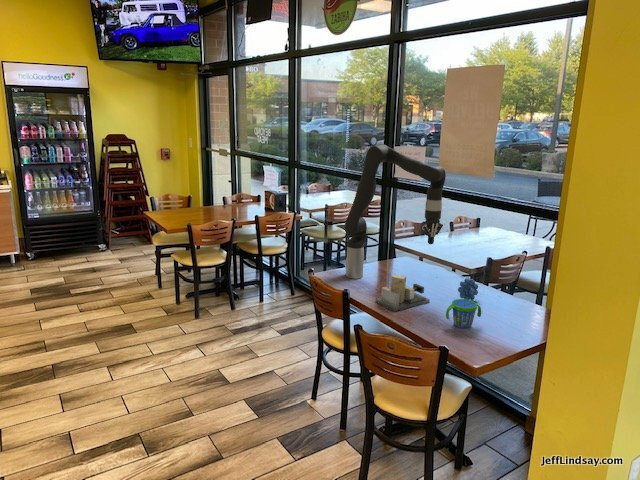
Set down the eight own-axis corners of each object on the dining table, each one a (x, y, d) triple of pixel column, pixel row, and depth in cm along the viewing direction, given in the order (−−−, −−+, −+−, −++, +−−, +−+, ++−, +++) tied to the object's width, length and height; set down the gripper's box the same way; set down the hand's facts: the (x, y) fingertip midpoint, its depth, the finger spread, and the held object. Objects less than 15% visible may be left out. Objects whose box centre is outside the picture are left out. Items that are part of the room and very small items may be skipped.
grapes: (462, 305, 228) (464, 282, 225) (454, 300, 235) (456, 277, 231) (482, 302, 232) (485, 279, 229) (473, 297, 239) (476, 274, 235)
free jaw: (395, 295, 236) (396, 283, 234) (412, 291, 241) (413, 279, 240) (409, 302, 227) (410, 290, 226) (426, 297, 233) (427, 286, 232)
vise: (375, 301, 232) (376, 286, 230) (409, 293, 244) (410, 279, 242) (394, 311, 221) (395, 296, 219) (429, 302, 232) (430, 287, 230)
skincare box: (389, 300, 230) (390, 276, 226) (392, 297, 233) (394, 273, 230) (401, 303, 227) (403, 278, 223) (405, 300, 230) (406, 276, 227)
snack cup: (449, 331, 202) (451, 308, 199) (440, 320, 212) (442, 299, 209) (485, 330, 203) (487, 307, 201) (474, 319, 214) (477, 298, 211)
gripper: (428, 211, 222) (426, 247, 227) (449, 208, 229) (446, 243, 234) (417, 208, 228) (415, 243, 233) (437, 206, 235) (434, 240, 240)
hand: (430, 243), depth 233 cm, fingers closed
